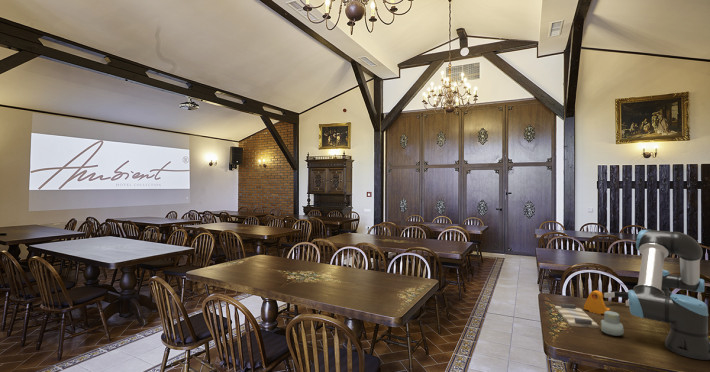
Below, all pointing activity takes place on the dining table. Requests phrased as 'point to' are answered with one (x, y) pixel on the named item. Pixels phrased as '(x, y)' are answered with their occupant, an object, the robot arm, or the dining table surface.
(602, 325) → the air freshener
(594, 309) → the bracket
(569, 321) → the rail board
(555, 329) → the dining table surface
